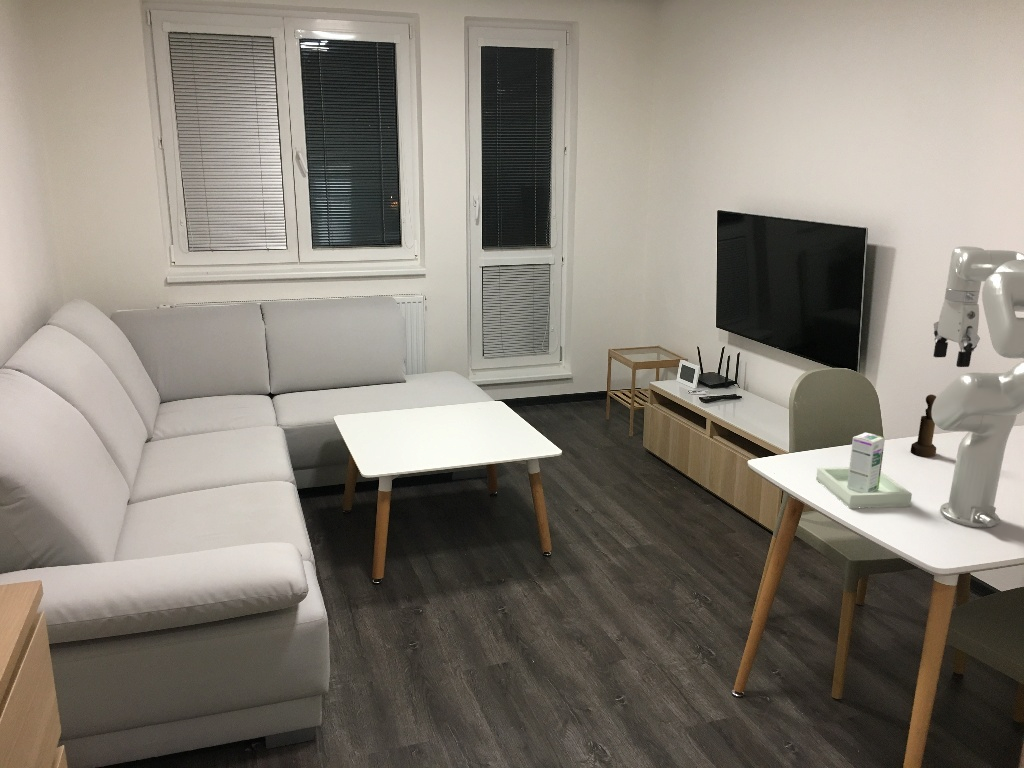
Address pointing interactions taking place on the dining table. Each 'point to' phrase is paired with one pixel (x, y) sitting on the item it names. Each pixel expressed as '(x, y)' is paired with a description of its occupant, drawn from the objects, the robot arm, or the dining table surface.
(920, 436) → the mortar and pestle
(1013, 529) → the dining table surface
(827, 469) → the tray
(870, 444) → the syrup box
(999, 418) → the robot arm
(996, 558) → the dining table surface
